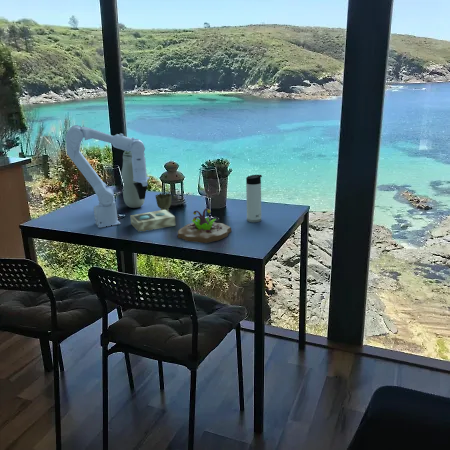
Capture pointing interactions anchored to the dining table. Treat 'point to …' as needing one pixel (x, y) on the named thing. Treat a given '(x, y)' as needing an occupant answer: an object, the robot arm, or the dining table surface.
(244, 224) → the dining table surface
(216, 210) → the dining table surface
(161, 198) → the cup
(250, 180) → the travel mug
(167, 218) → the socket block
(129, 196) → the pale grey bottle
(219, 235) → the plant
